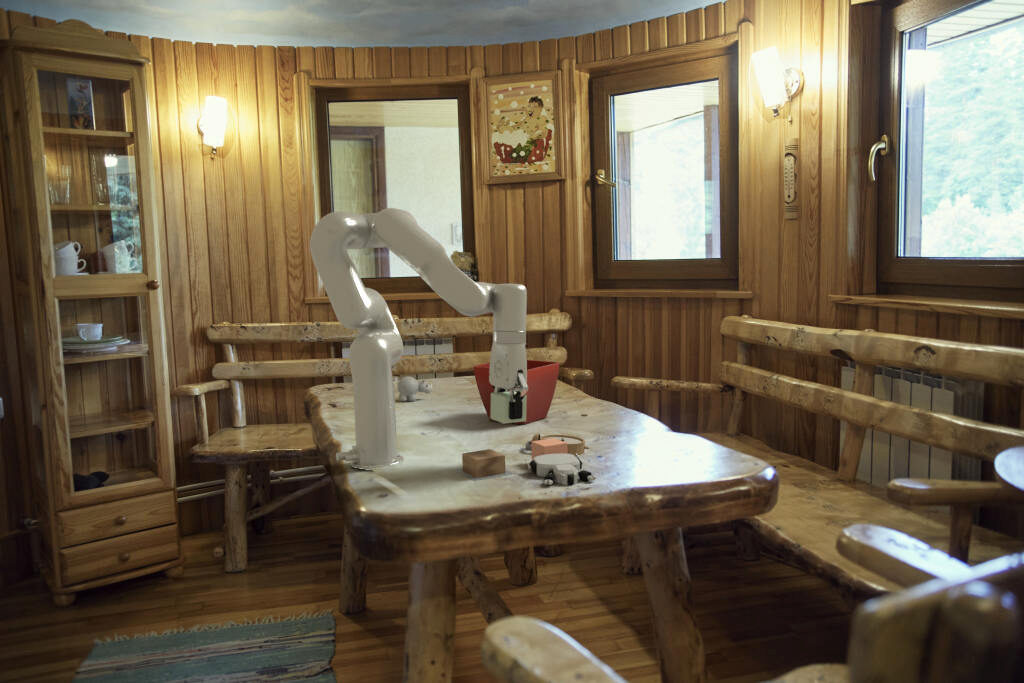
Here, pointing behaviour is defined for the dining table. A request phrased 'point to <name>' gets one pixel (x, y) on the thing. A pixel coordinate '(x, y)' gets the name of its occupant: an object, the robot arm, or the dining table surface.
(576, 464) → the robot toy
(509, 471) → the build board
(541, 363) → the plant pot
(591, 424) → the dining table surface
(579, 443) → the alarm clock
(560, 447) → the terracotta cube
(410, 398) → the round bodied animal figurine
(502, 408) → the sage cube
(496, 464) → the walnut block
